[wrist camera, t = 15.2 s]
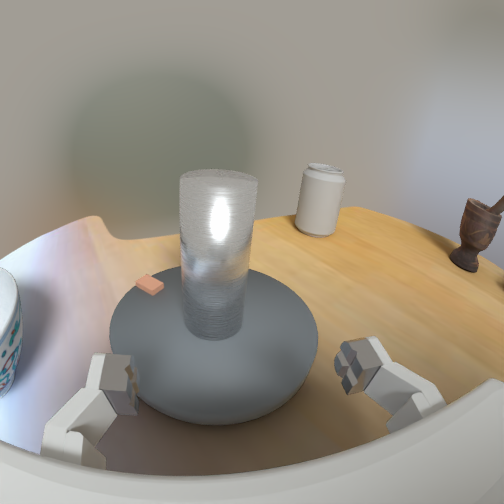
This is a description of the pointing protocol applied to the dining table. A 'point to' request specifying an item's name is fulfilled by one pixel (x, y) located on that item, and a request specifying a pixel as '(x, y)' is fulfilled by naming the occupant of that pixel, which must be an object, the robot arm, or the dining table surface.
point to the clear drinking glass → (215, 249)
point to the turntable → (215, 351)
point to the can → (320, 200)
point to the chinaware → (9, 330)
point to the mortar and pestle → (476, 232)
